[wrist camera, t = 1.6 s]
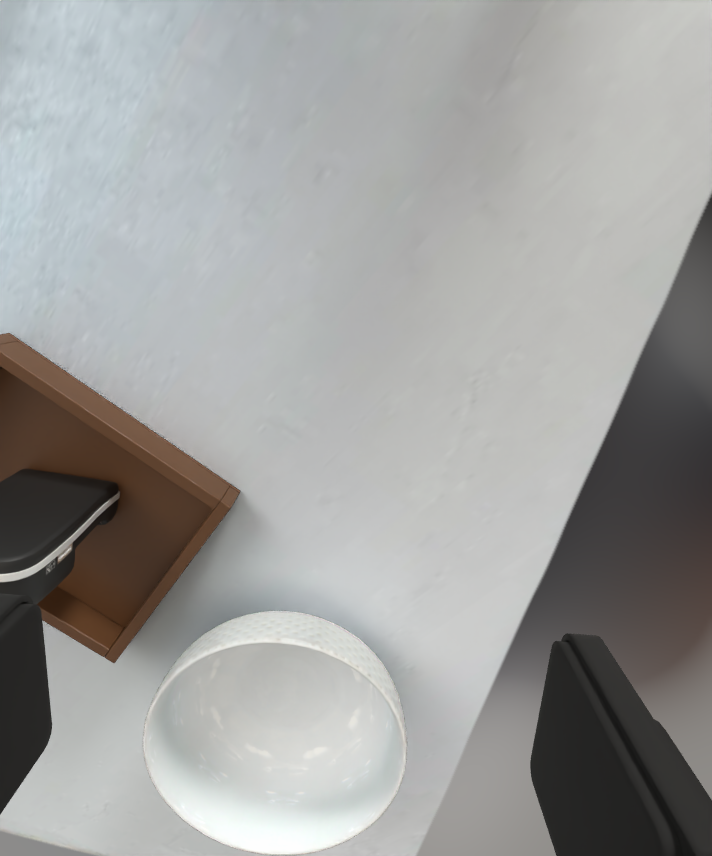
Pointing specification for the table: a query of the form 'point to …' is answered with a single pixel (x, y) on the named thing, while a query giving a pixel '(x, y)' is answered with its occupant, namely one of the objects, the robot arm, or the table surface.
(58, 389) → the tray
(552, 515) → the table surface
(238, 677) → the cereal bowl
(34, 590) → the battery charger
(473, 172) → the table surface
